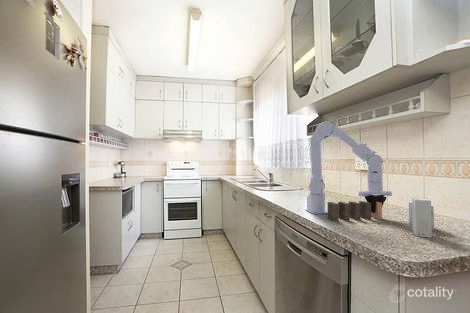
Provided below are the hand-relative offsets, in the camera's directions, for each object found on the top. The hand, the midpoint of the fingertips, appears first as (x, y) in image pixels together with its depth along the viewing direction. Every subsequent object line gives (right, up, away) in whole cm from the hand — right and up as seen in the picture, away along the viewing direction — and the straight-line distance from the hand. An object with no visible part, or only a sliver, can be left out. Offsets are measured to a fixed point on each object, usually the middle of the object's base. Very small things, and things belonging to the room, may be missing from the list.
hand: (375, 212), depth 102 cm
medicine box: (+8, -2, -15) cm, 17 cm away
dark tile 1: (-20, -2, -2) cm, 20 cm away
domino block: (-5, -2, -1) cm, 6 cm away
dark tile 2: (-15, -2, -2) cm, 15 cm away
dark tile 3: (-10, -2, -1) cm, 10 cm away
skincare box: (+1, -2, -24) cm, 24 cm away
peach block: (0, -2, 0) cm, 2 cm away
